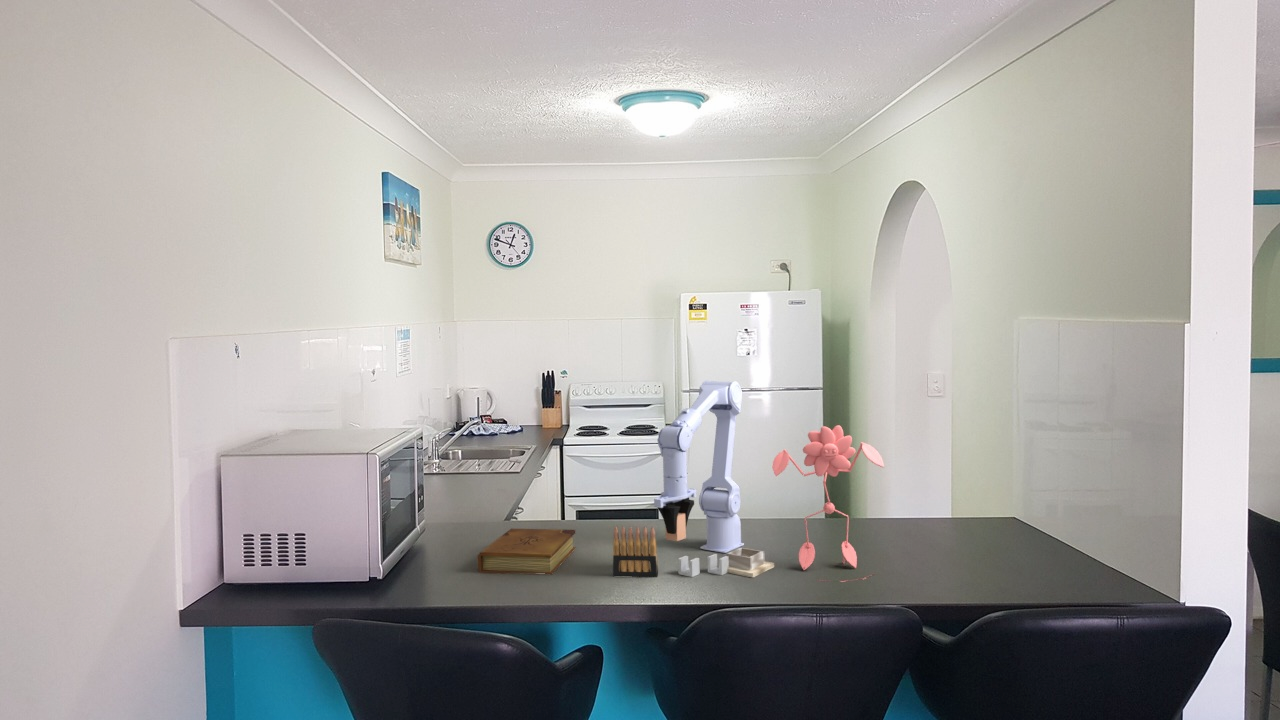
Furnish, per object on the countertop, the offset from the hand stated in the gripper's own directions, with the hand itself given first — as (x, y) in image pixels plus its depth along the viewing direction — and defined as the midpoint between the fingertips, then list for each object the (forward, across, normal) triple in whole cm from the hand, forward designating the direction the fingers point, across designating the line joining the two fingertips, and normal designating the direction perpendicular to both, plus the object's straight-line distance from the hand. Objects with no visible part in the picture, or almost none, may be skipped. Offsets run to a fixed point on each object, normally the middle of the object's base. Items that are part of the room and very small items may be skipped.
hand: (676, 531), depth 207 cm
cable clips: (+9, -2, +7) cm, 12 cm away
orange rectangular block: (+2, 0, 0) cm, 2 cm away
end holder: (+9, -10, +13) cm, 19 cm away
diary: (+10, +14, -37) cm, 41 cm away
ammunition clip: (+10, +9, -6) cm, 14 cm away
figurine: (+10, -19, +31) cm, 38 cm away
